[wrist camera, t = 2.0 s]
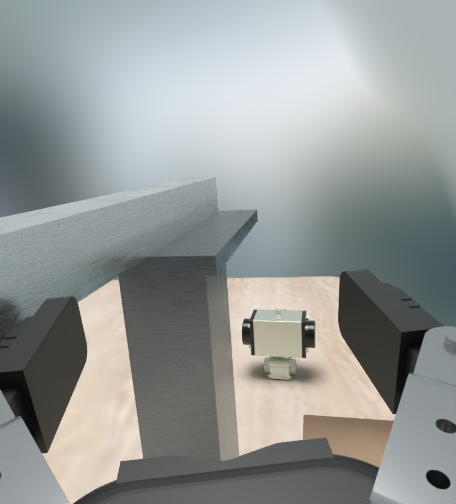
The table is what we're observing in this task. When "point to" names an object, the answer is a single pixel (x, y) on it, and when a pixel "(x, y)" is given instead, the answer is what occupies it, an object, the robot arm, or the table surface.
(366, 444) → the block
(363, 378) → the table surface
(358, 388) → the table surface
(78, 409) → the table surface
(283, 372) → the mini surveillance camera
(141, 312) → the steel stand
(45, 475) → the robot arm
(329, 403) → the table surface
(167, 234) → the aluminium bar
